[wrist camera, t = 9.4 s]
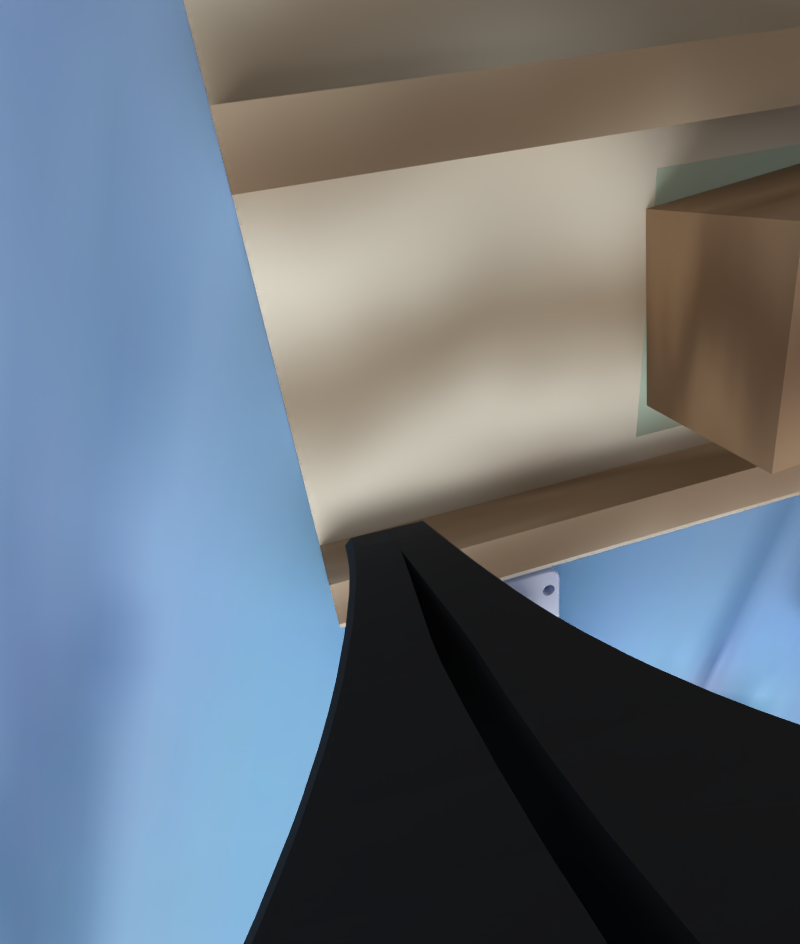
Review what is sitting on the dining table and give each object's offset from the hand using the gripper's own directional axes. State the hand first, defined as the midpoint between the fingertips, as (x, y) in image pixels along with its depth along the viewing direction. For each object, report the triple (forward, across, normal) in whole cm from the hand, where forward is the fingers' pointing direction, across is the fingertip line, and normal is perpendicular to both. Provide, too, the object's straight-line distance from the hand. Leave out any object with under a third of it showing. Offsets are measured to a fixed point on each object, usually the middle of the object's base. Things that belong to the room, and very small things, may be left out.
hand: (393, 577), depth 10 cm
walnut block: (+7, -13, -2) cm, 15 cm away
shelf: (+9, -14, -1) cm, 17 cm away
